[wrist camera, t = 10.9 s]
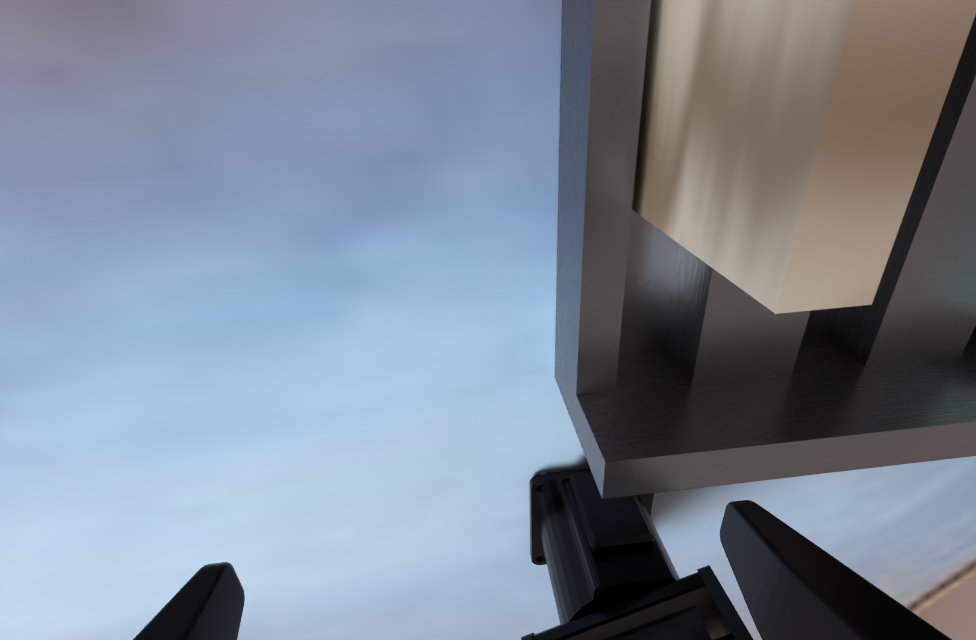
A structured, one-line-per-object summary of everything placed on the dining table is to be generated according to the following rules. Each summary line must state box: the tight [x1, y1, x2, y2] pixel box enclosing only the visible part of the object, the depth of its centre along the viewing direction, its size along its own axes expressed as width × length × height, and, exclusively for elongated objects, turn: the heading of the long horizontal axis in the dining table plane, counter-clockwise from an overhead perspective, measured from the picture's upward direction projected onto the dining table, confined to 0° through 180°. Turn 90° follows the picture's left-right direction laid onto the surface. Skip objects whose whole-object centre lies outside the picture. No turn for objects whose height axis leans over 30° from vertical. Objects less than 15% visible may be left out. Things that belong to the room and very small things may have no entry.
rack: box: [555, 0, 976, 499], centre depth 14 cm, size 22×20×7 cm
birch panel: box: [632, 0, 976, 314], centre depth 12 cm, size 6×2×9 cm, turn 3°
